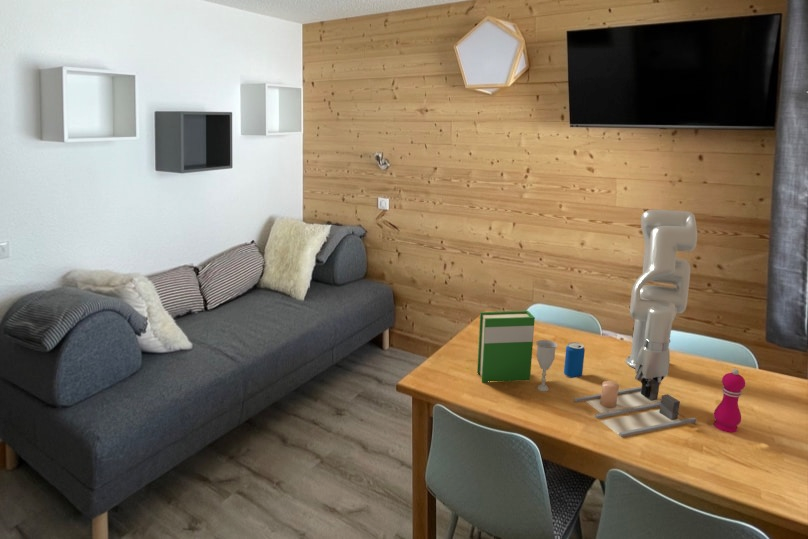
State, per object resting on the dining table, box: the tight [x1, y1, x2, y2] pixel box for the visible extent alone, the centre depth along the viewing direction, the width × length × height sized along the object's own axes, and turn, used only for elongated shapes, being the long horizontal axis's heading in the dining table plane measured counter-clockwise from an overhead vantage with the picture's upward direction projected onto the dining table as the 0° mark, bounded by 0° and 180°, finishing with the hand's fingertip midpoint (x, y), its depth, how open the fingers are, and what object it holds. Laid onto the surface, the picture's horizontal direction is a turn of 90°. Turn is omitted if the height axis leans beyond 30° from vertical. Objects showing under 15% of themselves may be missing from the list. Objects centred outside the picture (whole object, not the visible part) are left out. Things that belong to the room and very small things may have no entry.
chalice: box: [536, 339, 558, 392], centre depth 189 cm, size 7×7×18 cm
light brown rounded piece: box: [600, 380, 620, 408], centre depth 180 cm, size 5×5×7 cm
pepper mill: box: [713, 368, 746, 434], centre depth 166 cm, size 7×7×20 cm
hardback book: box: [476, 310, 536, 383], centre depth 199 cm, size 18×7×24 cm, turn 97°
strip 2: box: [600, 393, 681, 436], centre depth 170 cm, size 24×8×7 cm, turn 109°
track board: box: [573, 386, 697, 438], centre depth 177 cm, size 28×24×2 cm
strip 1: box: [585, 378, 661, 414], centre depth 182 cm, size 24×8×7 cm, turn 109°
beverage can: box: [563, 341, 586, 379], centre depth 202 cm, size 6×6×12 cm
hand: (649, 394), depth 186 cm, fingers closed on strip 1, 2 cm apart
